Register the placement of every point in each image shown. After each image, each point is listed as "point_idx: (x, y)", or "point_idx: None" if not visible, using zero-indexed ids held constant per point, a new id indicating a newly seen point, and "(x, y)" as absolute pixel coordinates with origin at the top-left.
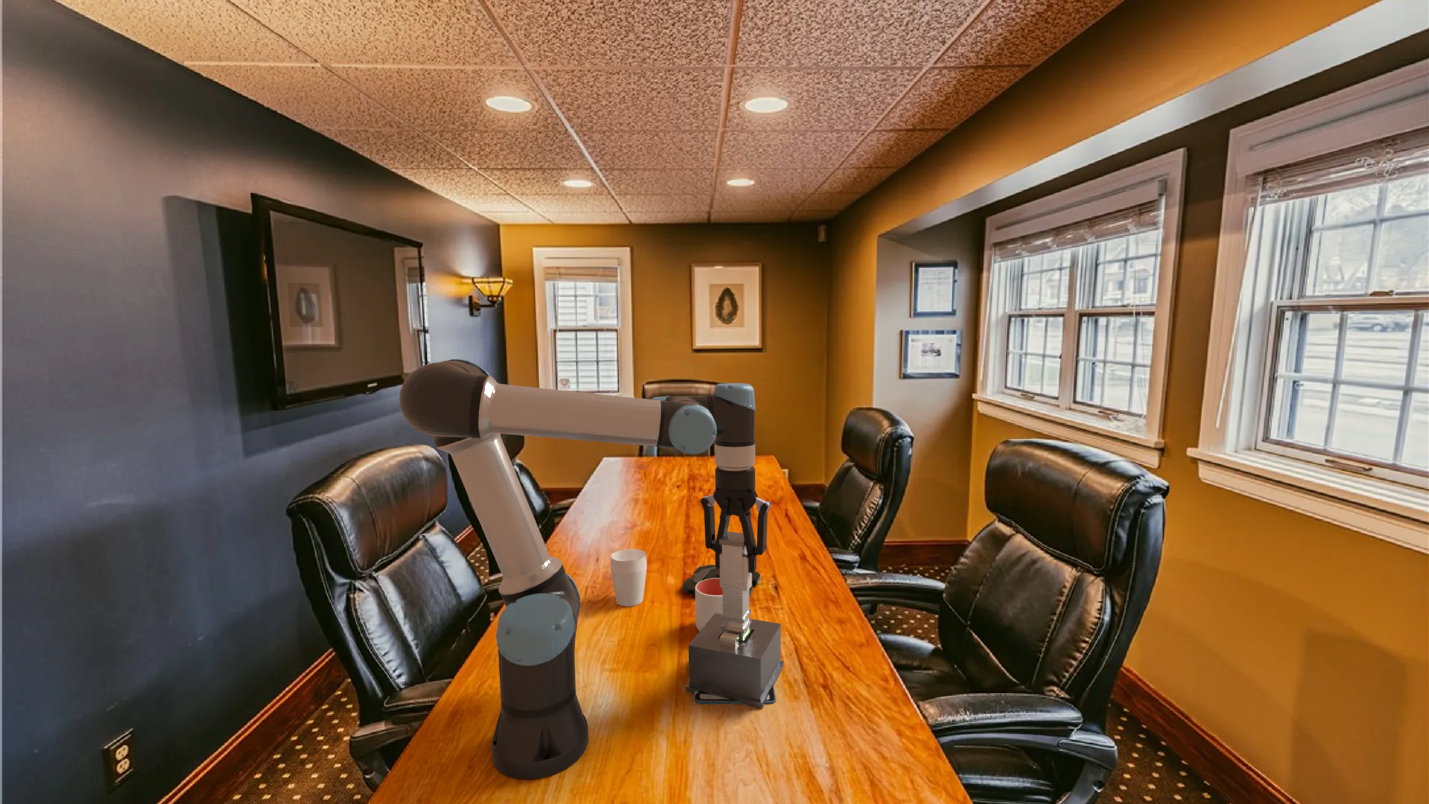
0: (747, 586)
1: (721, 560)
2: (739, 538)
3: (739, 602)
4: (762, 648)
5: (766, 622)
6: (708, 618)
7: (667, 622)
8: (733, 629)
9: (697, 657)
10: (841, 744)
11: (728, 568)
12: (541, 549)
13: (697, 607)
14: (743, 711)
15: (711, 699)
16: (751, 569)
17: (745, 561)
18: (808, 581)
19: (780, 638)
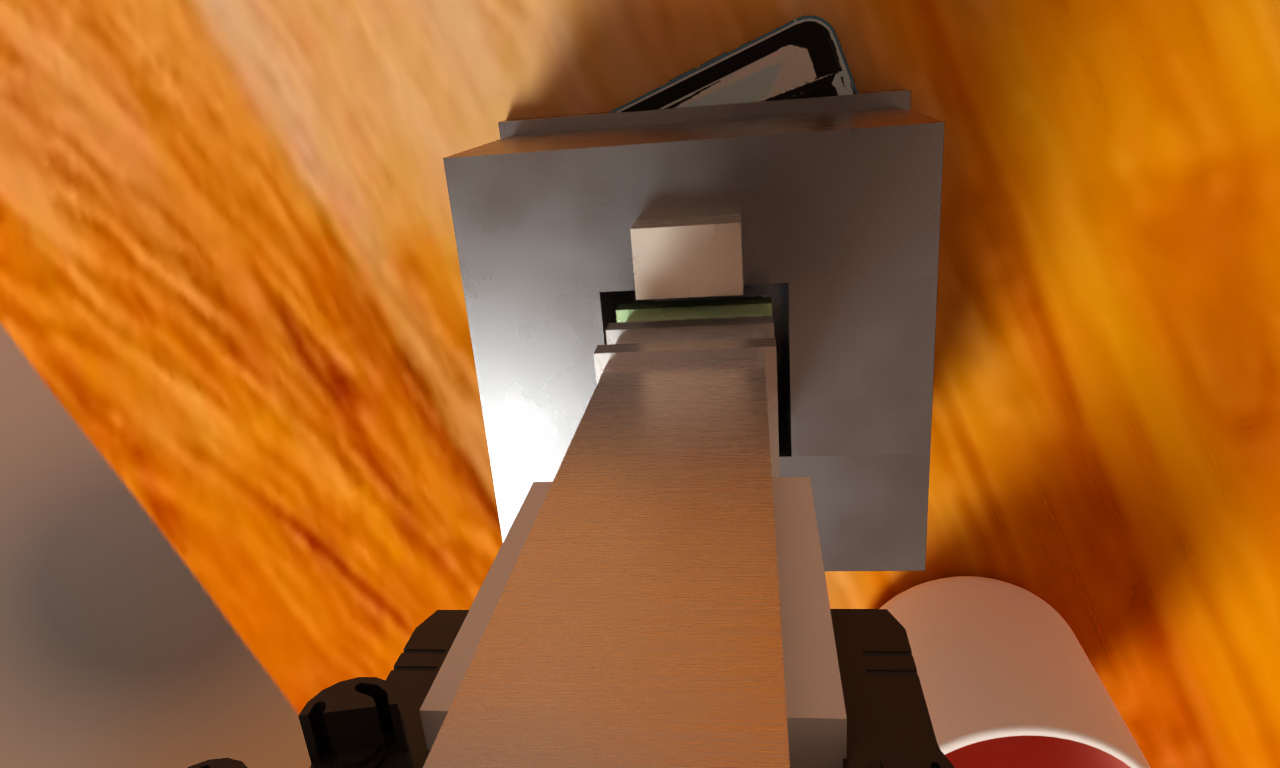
0: (522, 506)
1: (810, 655)
2: None
3: (612, 411)
4: (484, 276)
5: None
6: (997, 629)
7: (1246, 638)
8: (680, 324)
9: (865, 121)
10: (126, 24)
11: (694, 571)
12: None
13: (1093, 683)
14: (576, 62)
15: (745, 63)
16: (443, 635)
17: (464, 673)
18: None
19: None
